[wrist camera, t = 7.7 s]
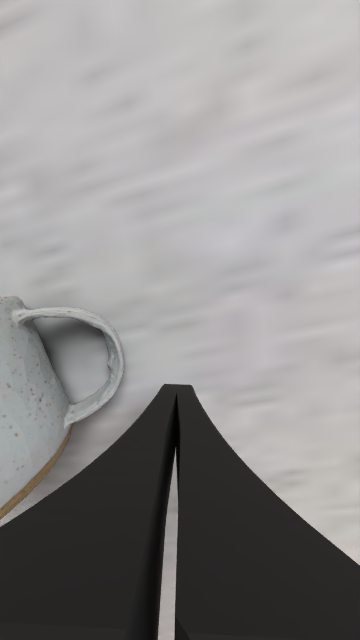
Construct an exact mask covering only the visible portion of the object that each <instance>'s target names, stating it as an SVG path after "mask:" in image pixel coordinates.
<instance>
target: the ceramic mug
mask: <svg viewBox="0 0 360 640" xmlns="http://www.w3.org/2000/svg"><path fill="white" fill-rule="evenodd" d="M41 317H45V318H46V317H60V318H72V319H78V320H80V321H82V322H85V323H88V324H90V325H91V326H93V327H96V328H99V329H100V330H102V331H103V334H104V337H105V340H106V343H107V347H108V351H109V361H108V364H107V365H108V366H109V368H110V370H111V373H110V378H109V379H108V381H107V382H106V384H105V385H104V386H103V387H102V388H101V389H99V390H98V391H97V392H96V393H94V394H93V395H91V396H89V397H88V398H86V399H85V400H83V401H81V402H79V403H77V404H73V405H71V404H70V403H69V401H68V399H67V397H66V394H65V392H64V390H63V388H62V385H61V383H60V381H59V380H58V378H57V376H56V374H55V372H54V370H53V368H52V366H51V364H50V361H49V359H48V356H47V354H46V351H45V349H44V346H43V344H42V342H41V340H40V337H39V335H38V333H37V331H36V329H35V327H34V324H33V322H32V320H33V319H35V318H41ZM123 371H124V355H123V349H122V346H121V343H120V340H119V338H118V336H117V334H116V332H115V330H114V329H113V328H112V326H111V325H110V324H109V323H108V322H107V321H106V320H104V319H103V318H102V317H101V316H98V315H96V314H94V313H92V312H89V311H86V310H82V309H78V308H71V307H53V308H39V309H34V310H27V309H26V307H25V305H24V303H23V302H22V300H21V299H20V298H19V297H15V296H0V519H1V518H3V517H4V516H5V515H6V514H8V513H9V512H10V511H11V510H12V509H13V508H14V507H15V506H16V505H17V504H18V503H20V502H21V501H22V500H23V499H24V498H25V497H26V496H27V495H28V494H29V493H30V492H31V491H32V490H33V489H34V488H35V487H36V486H37V485H38V484H39V482H40V481H41V480H42V479H43V478H44V477H45V476H46V474H47V473H48V472H49V470H50V469H51V468H52V467H53V465H54V464H55V463H56V461H57V459H58V458H59V456H60V454H61V453H62V451H63V449H64V447H65V445H66V443H67V441H68V439H69V436H70V434H71V429H72V423H73V422H77V421H80V420H82V419H83V418H86V417H88V416H90V415H91V414H92V413H94V412H95V411H97V410H98V409H100V408H101V407H102V406H103V405H104V404H105V403H106V402H107V401H108V400H109V399H110V398H111V397H112V396H113V395H114V393H115V391H116V389H117V387H118V385H119V384H120V382H121V379H122V375H123Z"/></svg>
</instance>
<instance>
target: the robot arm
mask: <svg viewBox="0 0 360 640" xmlns="http://www.w3.org/2000/svg"><path fill="white" fill-rule="evenodd" d="M175 448H176V462H177V486H178V536H177V568H176V600H175V640H360V565H358V564H357V563H356V562H355V561H353V560H352V559H351V558H350V557H349V556H347V555H346V554H345V553H344V552H342V551H341V550H340V549H339V548H338V547H336V546H335V545H334V544H333V543H331V542H330V541H329V540H328V539H326V538H325V537H324V536H323V535H322V534H320V533H319V532H318V531H317V530H315V529H314V528H313V527H312V526H311V525H309V524H308V523H307V522H306V521H305V520H304V519H302V518H301V517H300V516H299V515H298V514H297V513H296V512H295V511H293V510H292V509H291V508H290V507H289V506H288V505H287V504H286V503H285V502H283V501H282V500H281V499H280V498H279V497H278V496H277V495H276V494H275V493H274V492H273V491H272V490H271V489H270V488H269V487H268V486H267V485H266V484H265V483H264V482H263V481H262V480H261V479H260V478H259V477H258V476H257V475H256V474H255V473H254V472H253V471H252V470H251V469H250V468H249V467H248V466H247V465H246V464H245V463H244V462H243V461H242V459H241V458H240V457H239V456H238V455H237V454H236V453H235V452H234V450H233V449H232V448H231V447H230V446H229V444H228V443H227V442H226V441H225V439H224V438H223V437H222V435H221V434H220V433H219V431H218V430H217V429H216V427H215V426H214V424H213V423H212V421H211V420H210V418H209V417H208V415H207V414H206V412H205V410H204V409H203V407H202V405H201V404H200V402H199V400H198V398H197V396H196V394H195V392H194V389H193V387H192V386H191V385H178V384H164V385H163V386H162V387H161V389H160V390H159V392H158V393H157V395H156V396H155V398H154V399H153V400H152V402H151V403H150V404H149V406H148V407H147V408H146V409H145V411H144V412H143V413H142V414H141V415H140V417H139V418H138V419H137V420H136V421H135V422H134V423H133V424H132V426H131V427H130V428H129V429H128V430H127V431H126V432H125V433H124V434H123V435H122V436H121V437H120V438H119V439H118V440H117V441H116V442H115V443H114V444H112V445H111V446H110V447H109V448H108V449H107V450H106V451H105V452H104V453H102V454H101V455H100V456H99V457H98V458H97V459H95V460H94V461H93V462H92V463H91V464H89V465H88V466H87V467H86V468H85V469H83V470H82V471H81V472H80V473H78V474H77V475H76V476H74V477H73V478H72V479H70V480H69V481H68V482H66V483H65V484H63V485H62V486H61V487H59V488H58V489H57V490H55V491H54V492H52V493H51V494H50V495H48V496H47V497H45V498H44V499H42V500H41V501H40V502H38V503H37V504H35V505H34V506H32V507H31V508H29V509H28V510H26V511H25V512H23V513H22V514H20V515H18V516H17V517H15V518H14V519H12V520H11V521H9V522H7V523H6V524H4V525H3V526H1V527H0V640H158V626H159V611H160V596H161V581H162V567H163V552H164V538H165V524H166V515H167V506H168V499H169V492H170V485H171V478H172V470H173V463H174V456H175Z"/></svg>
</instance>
